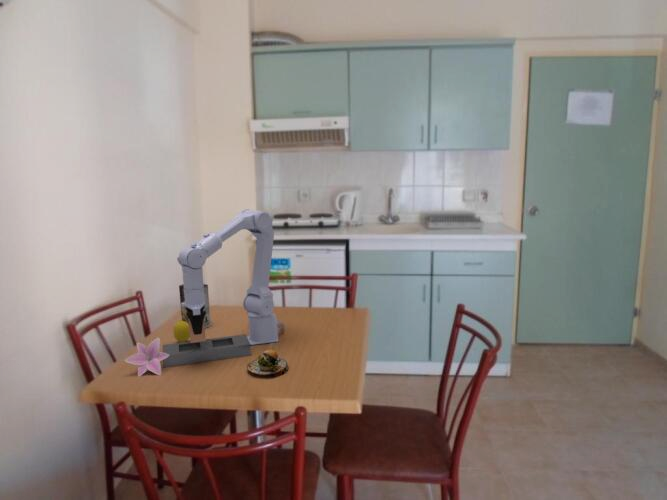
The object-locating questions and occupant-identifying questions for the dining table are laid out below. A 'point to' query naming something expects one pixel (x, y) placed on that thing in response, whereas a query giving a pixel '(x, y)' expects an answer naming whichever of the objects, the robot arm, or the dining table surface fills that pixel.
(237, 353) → the grey slotted board
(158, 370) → the lily
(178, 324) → the lemon
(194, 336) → the peg
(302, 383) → the dining table surface
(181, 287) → the coffee box
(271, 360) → the burger
